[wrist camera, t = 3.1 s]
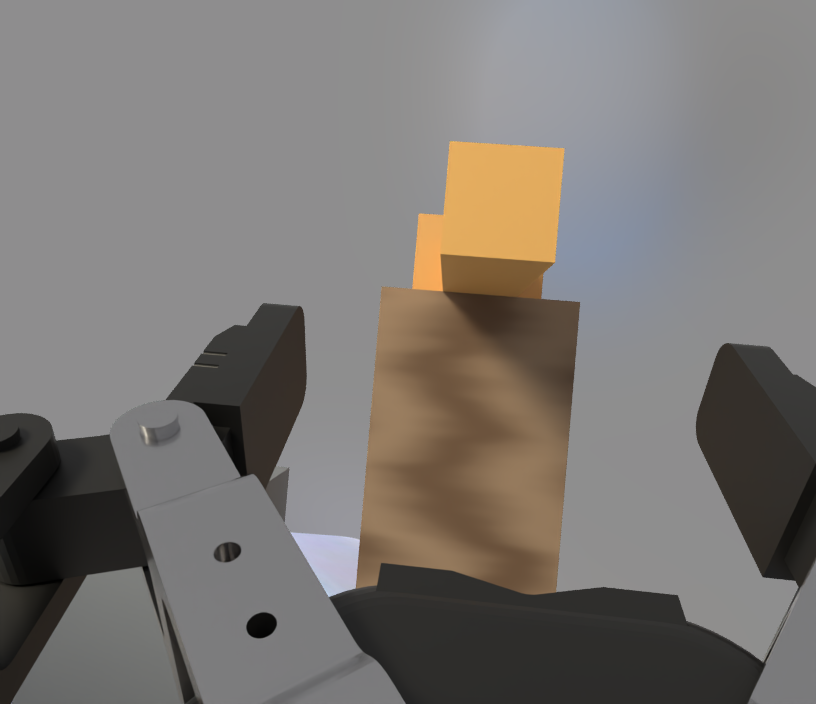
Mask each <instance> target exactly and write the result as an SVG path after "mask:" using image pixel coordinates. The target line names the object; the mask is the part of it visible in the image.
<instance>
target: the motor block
mask: <svg viewBox="0 0 816 704" xmlns="http://www.w3.org/2000/svg"><path fill="white" fill-rule="evenodd" d="M288 476H289V468H286V467H275V469H274V471H273V474H272V476H271V478H270V480H269V483H268V485H267V487H266V490H265V491H266V493H267V494H268V496H269V498H270V499H271V501H272V503H273V504H274V506H275V508H276V510H277V511H278V513H279V515H280V516H281V518H282V520H283V521H284V522H285V511H286V499H287V488H288ZM13 704H181V702H180V699H179V695H178V691H177V688H176V684H175V680H174V676H173V672H172V669H171V665H170V662H169V658H168V655H167V651H166V648H165V645H164V642H163V639H162V635H161V632H160V629H159V626H158V623H157V619H156V616H155V613H154V610H153V606H152V603H151V600H150V597H149V594H148V590H147V587H146V584H145V581H144V578H143V574H142V571H141V567H137V568H130V569H124V570H117V571H111V572H104V573H98V574H91V575H87V576H86V578H85V580H84V582H83V583H82V585H81V587H80V588H79V590H78V592H77V593H76V595H75V597H74V598H73V600H72V602H71V603H70V605H69V607H68V608H67V610H66V612H65V613H64V615H63V617H62V618H61V620H60V622H59V623H58V625H57V627H56V628H55V630H54V632H53V633H52V635H51V637H50V638H49V640H48V642H47V643H46V645H45V647H44V648H43V650H42V652H41V653H40V655H39V657H38V658H37V660H36V662H35V664H34V665H33V667H32V669H31V670H30V672H29V674H28V675H27V677H26V679H25V680H24V682H23V684H22V685H21V687H20V689H19V690H18V692H17V694H16V695H15V697H14V699H13Z"/></svg>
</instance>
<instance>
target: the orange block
mask: <svg viewBox="0 0 816 704" xmlns="http://www.w3.org/2000/svg"><path fill="white" fill-rule="evenodd" d="M563 160H564V148H549V147H534V146H518V145H502V144H487V143H486V144H485V143H470V142H455V141H454V142H453V141H450V146H449V158H448V170H447V182H446V194H445V205H444V215H431V214H419V219H418V230H417V242H416V254H415V266H414V278H413V289H419V290H432V291H444V292H457V293H470V294H483V295H495V296H508V297H521V298H534V299H541V294H542V282H543V273H544V272H545V271H546V270H547V269H548V268H550V267H551V266H552V265H553V264H554V263H555V256H556V244H557V231H558V219H559V208H560V196H561V184H562V172H563Z"/></svg>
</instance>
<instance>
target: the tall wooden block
mask: <svg viewBox="0 0 816 704" xmlns="http://www.w3.org/2000/svg"><path fill="white" fill-rule="evenodd" d="M579 308H580V302H572V301H559V300H546V299H534V298H521V297H508V296H495V295H483V294H470V293H457V292H444V291H432V290H419V289H406V288H394V287H382V290H381V301H380V314H379V326H378V336H377V348H376V360H375V371H374V384H373V394H372V407H371V418H370V430H369V441H368V454H367V465H366V476H365V488H364V499H363V511H362V522H361V534H360V546H359V557H358V569H357V581H356V589H357V588H362V587H367V586H375V585H377V583H378V577H379V571H380V566H381V563H388V564H397V565H406V566H415V567H424V568H433V569H442V570H451V571H455V572H458V573H461V574H464V575H467V576H470V577H474V578H477V579H480V580H483V581H486V582H489V583H492V584H495V585H498V586H501V587H504V588H507V589H510V590H514V591H517V592H520V593H524V594H530V595H536V594H545V593H555V592H556V586H557V574H558V573H557V572H558V562H559V549H560V538H561V525H562V513H563V502H564V489H565V476H566V465H567V452H568V441H569V428H570V417H571V405H572V393H573V380H574V369H575V356H576V345H577V333H578V320H579Z"/></svg>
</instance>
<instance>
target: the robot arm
mask: <svg viewBox="0 0 816 704" xmlns="http://www.w3.org/2000/svg"><path fill="white" fill-rule="evenodd" d="M305 351H306V349H305V326H304V313H303V309H302V308H301V307H300V306H290V305H278V304H267V303H263V304H262V305H261V306H260V308H259V309H258V311H257V312H256V313H255V315H254V316H253V318H252V319H251V320H250V322H249V324H248V325H247V326H240V325H234V326H232V327H231V328H229V329H227V330H225V331H224V332H222V333H220V334H219V335H217V336H215V337H214V338H213V340H212V341H211V342H210V343H209V345H208V346H207V347H206V349H205V350H204V353H203V354H201V355H200V356H199V358H198V359H197V360H196V361H195V364H194V366H192V367H191V368H190V369H189V371H188V372H187V373H186V374H185V376H184V377H183V378H182V379H181V381H180V382H179V384H178V385H177V386H176V387H175V388H174V390H173V391H172V392H171V394H170V395H169V396H168V398H167V399H166V400H163V401H156V402H151V403H147V404H143V405H141V406H138V407H135V408H133V409H131V410H129V411H128V412H126V413H125V414H123V415H122V416H120V417H119V418H118V419H117V420H116V421H115V423H114V424H113V425H112V428H111V430H110V434H109V435H103V436H95V437H86V438H76V439H67V440H58V441H56V439H55V436H54V432H53V429H52V426H51V424H50V422H49V421H48V420H46V419H45V418H43V417H41V416H37V415H33V414H25V413H24V414H23V413H16V414H7V415H1V416H0V704H11V702H12V700H13V699H14V697H15V695H16V694H17V692H18V690H19V689H20V687H21V685H22V684H23V682H24V680H25V679H26V677H27V675H28V674H29V672H30V670H31V669H32V667H33V665H34V664H35V662H36V660H37V658H38V657H39V655H40V653H41V652H42V650H43V648H44V647H45V645H46V643H47V642H48V640H49V638H50V637H51V635H52V633H53V632H54V630H55V628H56V627H57V625H58V623H59V622H60V620H61V618H62V617H63V615H64V613H65V612H66V610H67V608H68V607H69V605H70V603H71V602H72V600H73V598H74V597H75V595H76V593H77V592H78V590H79V588H80V587H81V585H82V583H83V582H84V580H85V578H86V576H87V575H91V574H98V573H104V572H111V571H117V570H124V569H130V568H137V567H141V571H142V574H143V578H144V581H145V584H146V587H147V590H148V594H149V597H150V600H151V603H152V606H153V610H154V613H155V616H156V619H157V623H158V626H159V629H160V632H161V635H162V639H163V642H164V645H165V648H166V651H167V655H168V658H169V662H170V665H171V669H172V672H173V676H174V680H175V684H176V688H177V691H178V695H179V699H180V702H181V704H816V387H814V386H813V385H811V384H810V383H808V382H807V381H805V380H804V379H802V378H801V377H799V376H798V375H793V374H792V373H791V372H790V371H789V370H788V368H787V367H786V366H785V364H784V363H783V362H782V361H781V360H780V358H779V357H778V356H777V355H776V353H775V352H774V351H773V350H772V349H771V348H770V347H766V346H754V345H742V344H731V343H730V344H729V343H726V344H724V345H723V346H722V347H721V348H720V349H719V351H718V353H717V356H716V358H715V362H714V365H713V368H712V371H711V374H710V377H709V380H708V383H707V386H706V389H705V392H704V395H703V398H702V401H701V404H700V407H699V410H698V414H697V421H696V435H697V440H698V444H699V446H700V448H701V450H702V452H703V454H704V456H705V459H706V461H707V463H708V465H709V467H710V469H711V471H712V473H713V475H714V477H715V479H716V481H717V483H718V485H719V487H720V490H721V492H722V494H723V496H724V498H725V500H726V502H727V504H728V506H729V508H730V510H731V512H732V515H733V517H734V519H735V521H736V523H737V525H738V527H739V529H740V531H741V533H742V535H743V537H744V539H745V541H746V543H747V545H748V548H749V550H750V552H751V554H752V556H753V558H754V560H755V562H756V564H757V566H758V568H759V571H760V573H761V575H762V576H763V577H766V578H774V579H784V580H794V581H796V583H797V585H798V587H799V588H798V590H797V591H796V593H795V595H794V597H793V599H792V601H791V603H790V605H789V607H788V610H787V611H786V614H785V616H784V618H783V620H782V622H781V624H780V626H779V628H778V630H777V632H776V634H775V636H774V638H773V640H772V642H771V645H770V646H769V648H768V650H767V653H766V655H765V657H764V659H763V661H760V660H759V659H757V658H756V657H755V656H754V655H752V654H751V653H750V652H748V651H746V650H745V649H743V648H742V647H740V646H738V645H737V644H735V643H734V642H732V641H730V640H728V639H726V638H725V637H723V636H721V635H719V634H717V633H715V632H713V631H711V630H708V629H706V628H703V627H701V626H699V625H696V624H694V623H691V622H688V621H686V619H685V616H684V613H683V610H682V607H681V604H680V600H679V598H678V595H669V594H660V593H651V592H642V591H633V590H624V589H615V588H606V587H601V588H591V589H582V590H573V591H565V592H555V593H545V594H536V595H530V594H524V593H520V592H517V591H514V590H510V589H507V588H504V587H501V586H498V585H495V584H492V583H489V582H486V581H483V580H480V579H477V578H474V577H470V576H467V575H464V574H461V573H458V572H455V571H451V570H442V569H433V568H424V567H415V566H406V565H397V564H388V563H381V566H380V571H379V577H378V583H377V585H375V586H367V587H362V588H357V589H353V590H348V591H345V592H342V593H339V594H336V595H333V596H331V597H328V595H327V594H326V592H325V590H324V588H323V587H322V585H321V583H320V582H319V580H318V578H317V577H316V575H315V573H314V572H313V570H312V568H311V567H310V565H309V563H308V562H307V560H306V558H305V557H304V555H303V553H302V552H301V550H300V548H299V546H298V545H297V543H296V541H295V540H294V538H293V536H292V535H291V533H290V531H289V530H288V528H287V526H286V525H285V523H284V521H283V520H282V518H281V516H280V515H279V513H278V511H277V510H276V508H275V506H274V504H273V503H272V501H271V499H270V498H269V496H268V494H267V493H266V491H265V490H266V487H267V485H268V483H269V480H270V478H271V476H272V474H273V471H274V469H275V467H276V464H277V462H278V460H279V457H280V455H281V453H282V451H283V448H284V446H285V443H286V441H287V439H288V437H289V434H290V432H291V430H292V428H293V425H294V423H295V420H296V418H297V416H298V414H299V411H300V409H301V407H302V404H303V401H304V396H305V390H306V377H307V375H306V374H307V373H306V352H305Z"/></svg>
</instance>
